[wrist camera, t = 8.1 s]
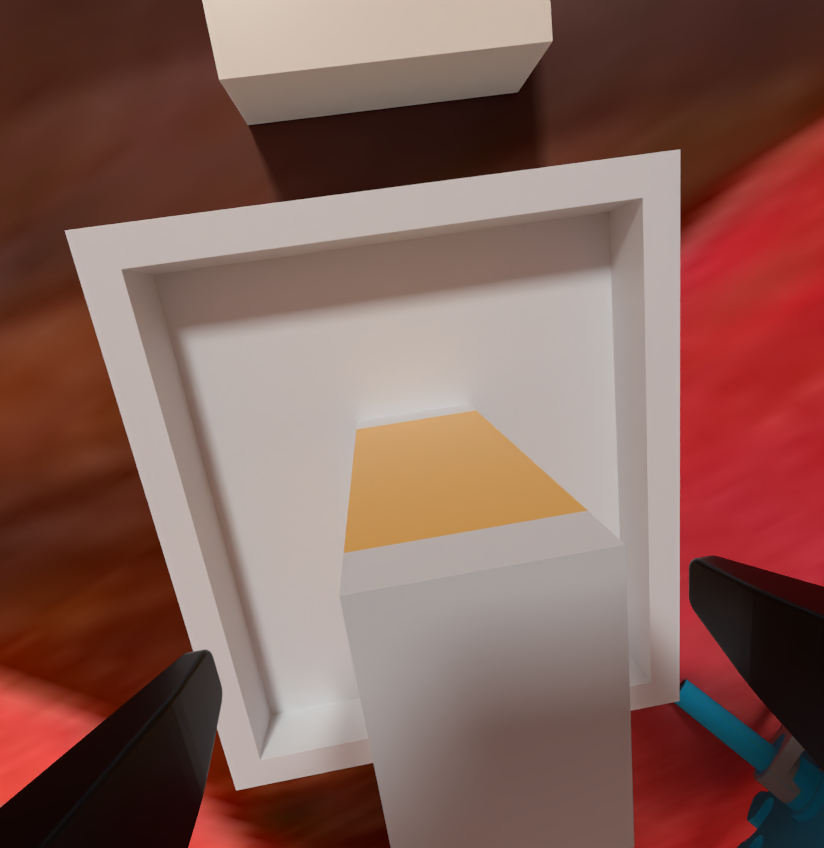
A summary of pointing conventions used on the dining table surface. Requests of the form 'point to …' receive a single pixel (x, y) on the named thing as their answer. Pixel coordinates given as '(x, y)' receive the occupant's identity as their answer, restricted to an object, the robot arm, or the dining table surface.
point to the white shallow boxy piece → (371, 52)
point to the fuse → (485, 641)
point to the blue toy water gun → (768, 776)
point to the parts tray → (387, 403)
